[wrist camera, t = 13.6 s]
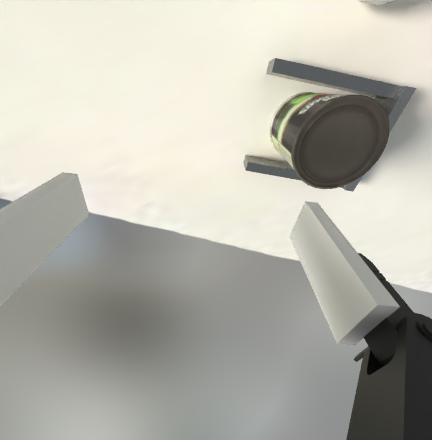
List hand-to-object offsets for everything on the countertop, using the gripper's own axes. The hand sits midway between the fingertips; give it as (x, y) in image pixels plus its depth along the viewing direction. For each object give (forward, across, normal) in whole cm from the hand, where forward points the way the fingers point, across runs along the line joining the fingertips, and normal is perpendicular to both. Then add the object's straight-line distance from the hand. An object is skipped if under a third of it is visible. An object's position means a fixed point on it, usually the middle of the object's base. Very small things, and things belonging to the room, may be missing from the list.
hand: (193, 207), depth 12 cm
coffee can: (+28, +15, +2) cm, 32 cm away
